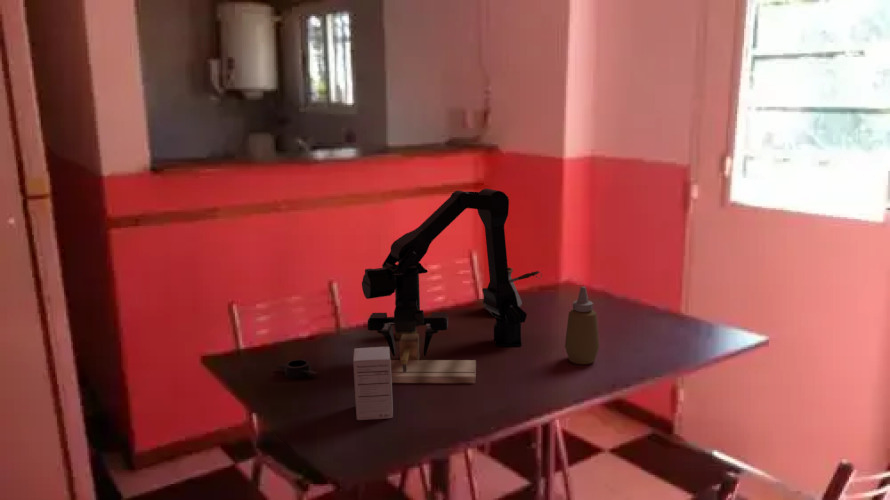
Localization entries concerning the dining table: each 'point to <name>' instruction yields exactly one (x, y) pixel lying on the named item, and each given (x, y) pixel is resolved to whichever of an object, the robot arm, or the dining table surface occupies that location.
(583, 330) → the squeeze bottle
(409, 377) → the board
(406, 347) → the gauge
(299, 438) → the dining table surface
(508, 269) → the coffee pot
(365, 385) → the supplement box
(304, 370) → the dark ring with tabs
